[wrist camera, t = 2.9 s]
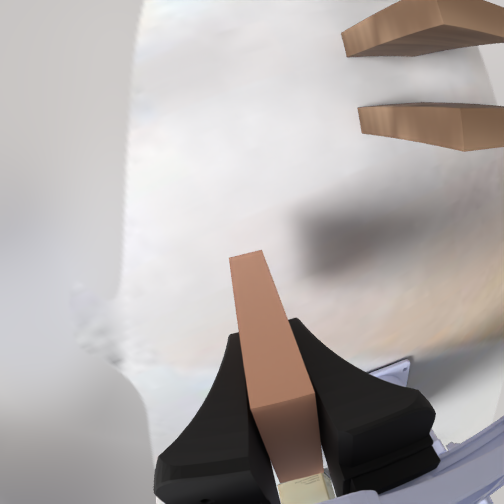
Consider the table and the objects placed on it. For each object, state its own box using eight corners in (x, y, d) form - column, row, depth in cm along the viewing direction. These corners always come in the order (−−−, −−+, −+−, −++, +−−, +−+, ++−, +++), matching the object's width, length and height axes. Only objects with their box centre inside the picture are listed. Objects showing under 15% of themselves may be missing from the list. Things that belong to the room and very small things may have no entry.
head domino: (261, 249, 15) (315, 393, 7) (279, 330, 17) (323, 472, 9) (229, 257, 15) (250, 408, 7) (251, 337, 17) (280, 483, 9)
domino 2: (425, 125, 17) (531, 144, 9) (361, 133, 17) (464, 151, 9) (422, 102, 17) (528, 109, 9) (357, 107, 17) (460, 108, 8)
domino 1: (413, 56, 16) (517, 41, 7) (346, 57, 15) (443, 24, 7) (408, 34, 15) (508, 9, 7) (341, 33, 15) (431, -14, 7)
